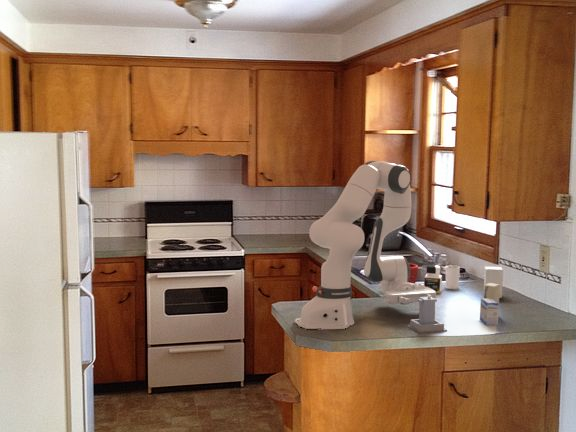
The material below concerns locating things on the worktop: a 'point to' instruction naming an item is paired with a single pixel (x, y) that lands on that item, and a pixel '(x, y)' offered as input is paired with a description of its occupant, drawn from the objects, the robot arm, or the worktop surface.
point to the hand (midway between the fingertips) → (419, 300)
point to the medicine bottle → (433, 278)
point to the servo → (427, 310)
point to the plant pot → (413, 271)
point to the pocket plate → (426, 326)
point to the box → (492, 292)
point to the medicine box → (489, 311)
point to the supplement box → (494, 277)
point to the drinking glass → (452, 277)
